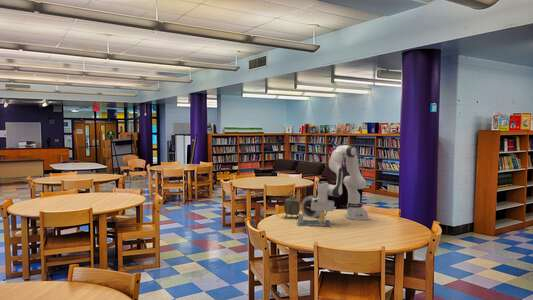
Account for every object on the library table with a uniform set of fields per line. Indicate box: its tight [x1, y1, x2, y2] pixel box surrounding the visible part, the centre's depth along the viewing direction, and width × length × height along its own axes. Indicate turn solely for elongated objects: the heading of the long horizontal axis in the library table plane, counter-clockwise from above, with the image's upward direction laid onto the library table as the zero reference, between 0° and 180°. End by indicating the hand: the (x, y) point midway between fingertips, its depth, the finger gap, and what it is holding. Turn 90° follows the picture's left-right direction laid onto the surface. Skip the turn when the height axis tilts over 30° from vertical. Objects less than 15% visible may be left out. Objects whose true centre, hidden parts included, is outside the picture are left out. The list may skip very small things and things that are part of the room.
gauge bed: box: [297, 213, 332, 228], centre depth 338 cm, size 28×16×7 cm, turn 86°
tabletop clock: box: [283, 190, 301, 219], centre depth 359 cm, size 14×9×25 cm, turn 84°
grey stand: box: [304, 211, 327, 222], centre depth 336 cm, size 18×11×10 cm, turn 86°
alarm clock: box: [300, 195, 320, 219], centre depth 368 cm, size 21×8×20 cm, turn 43°
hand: (322, 215), depth 337 cm, fingers closed on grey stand, 4 cm apart
